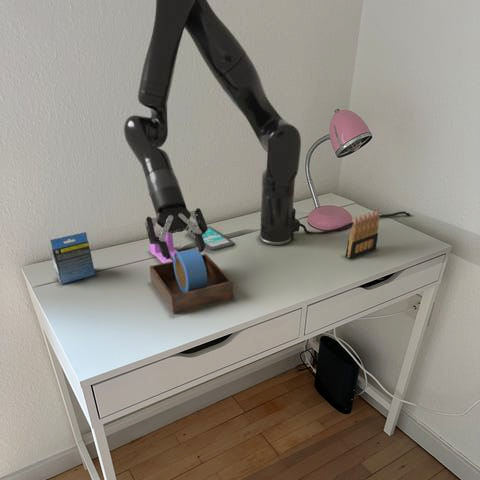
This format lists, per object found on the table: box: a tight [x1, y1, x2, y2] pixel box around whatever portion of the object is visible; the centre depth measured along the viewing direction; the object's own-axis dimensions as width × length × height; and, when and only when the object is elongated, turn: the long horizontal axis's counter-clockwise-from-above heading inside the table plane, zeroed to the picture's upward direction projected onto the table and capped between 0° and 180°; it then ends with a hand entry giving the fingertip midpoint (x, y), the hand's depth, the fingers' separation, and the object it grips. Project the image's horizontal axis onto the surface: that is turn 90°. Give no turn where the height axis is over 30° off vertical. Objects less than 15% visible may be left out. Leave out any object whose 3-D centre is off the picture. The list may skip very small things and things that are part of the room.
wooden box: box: [149, 253, 234, 315], centre depth 112 cm, size 15×16×5 cm
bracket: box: [148, 228, 178, 263], centre depth 126 cm, size 13×6×7 cm, turn 33°
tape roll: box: [172, 248, 207, 293], centre depth 111 cm, size 5×10×10 cm, turn 27°
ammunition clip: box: [345, 209, 380, 260], centre depth 128 cm, size 11×2×12 cm, turn 126°
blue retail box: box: [50, 231, 96, 285], centre depth 116 cm, size 9×4×12 cm, turn 123°
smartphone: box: [186, 226, 234, 252], centre depth 138 cm, size 9×1×15 cm
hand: (185, 254), depth 110 cm, fingers open, 8 cm apart
